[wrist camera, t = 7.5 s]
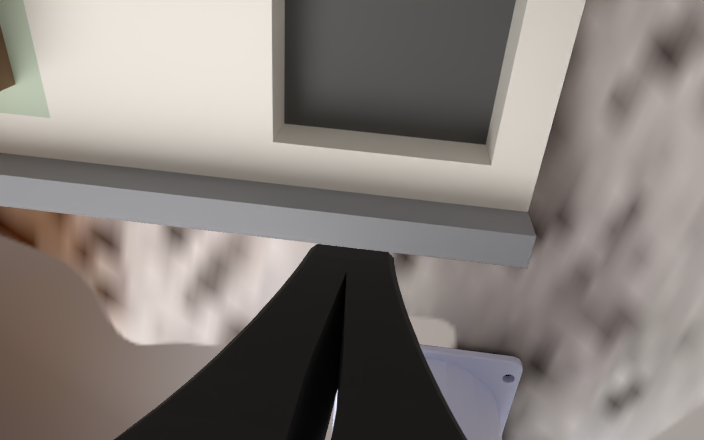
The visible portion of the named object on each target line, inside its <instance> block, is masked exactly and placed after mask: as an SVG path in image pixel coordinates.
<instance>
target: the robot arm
mask: <svg viewBox="0 0 704 440" xmlns="http://www.w3.org/2000/svg"><path fill="white" fill-rule="evenodd" d="M522 372H523V367H522V363H521V361H520V360H519V359H518V358H517V357H513V356H506V355H498V354H490V353H483V352H475V351H467V350H459V349H452V348H444V347H435V346H428V345H420V344H419V342H418V340H417V337H416V335H415V332H414V330H413V327H412V324H411V322H410V319H409V317H408V314H407V311H406V308H405V305H404V302H403V299H402V295H401V292H400V289H399V285H398V281H397V277H396V272H395V266H394V258H393V257H392V256H391V255H390V254H389V252H383V251H374V250H365V249H357V248H348V247H340V246H331V245H322V244H317V245H315V246H314V247H312V248H311V249H310V251H309V252H308V254H307V255H306V256H305V258H304V259H303V261H302V262H301V263H300V265H299V266H298V267H297V269H296V270H295V271H294V273H293V274H292V275H291V276H290V278H289V279H288V280H287V281H286V282H285V284H284V285H283V286H282V287H281V288H280V290H279V291H278V292H277V293H276V294H275V295H274V297H273V298H272V299H271V300H270V301H269V302H268V303H267V304H266V305H265V307H264V308H263V309H262V310H261V311H260V312H259V313H258V314H257V316H256V317H255V318H254V319H253V320H252V321H251V322H250V323H249V324H248V325H247V326H246V327H245V328H244V329H243V330H242V331H241V332H240V333H239V334H238V335H237V336H236V337H235V338H234V339H233V340H232V341H231V342H230V343H229V344H228V345H227V346H226V347H225V348H224V349H223V350H222V351H221V352H220V353H219V354H218V355H217V356H216V357H215V358H214V359H213V360H211V361H210V362H209V363H208V364H207V365H206V366H205V367H204V368H203V369H201V370H200V371H199V372H198V373H197V374H196V375H195V376H194V377H193V378H191V379H190V380H189V381H188V382H187V383H186V384H184V385H183V386H182V387H181V388H180V389H178V390H177V391H176V392H175V393H173V394H172V395H171V396H170V397H169V398H167V399H166V400H165V401H164V402H163V403H161V404H160V405H159V406H158V407H156V408H155V409H154V410H152V411H151V412H150V413H148V414H147V415H146V416H145V417H143V418H142V419H141V420H139V421H138V422H137V423H135V424H134V425H133V426H132V427H130V428H129V429H127V430H126V431H125V432H123V433H122V434H121V435H120V436H118V437H117V438H116V439H114V440H325V436H326V432H327V429H328V425H329V421H330V417H331V413H332V409H333V405H334V413H333V428H332V438H331V440H502V433H503V430H504V427H505V424H506V421H507V418H508V415H509V412H510V408H511V405H512V402H513V399H514V396H515V393H516V390H517V387H518V384H519V381H520V378H521V375H522ZM509 374H510V376H505V375H509Z"/></svg>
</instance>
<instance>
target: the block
mask: <svg viewBox="0 0 704 440" xmlns="http://www.w3.org/2000/svg"><path fill="white" fill-rule="evenodd" d="M13 85H15V80H14V76H13V72H12V68H11V64H10V61H9V57H8V53H7V49H6V45H5V41H4V37H3V33H2V29H1V26H0V91H2V90H4V89H7V88H9V87H11V86H13Z"/></svg>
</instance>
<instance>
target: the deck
mask: <svg viewBox="0 0 704 440" xmlns="http://www.w3.org/2000/svg"><path fill="white" fill-rule="evenodd" d="M585 2H586V0H0V26H1V29H2V33H3V37H4V41H5V45H6V49H7V53H8V57H9V61H10V64H11V68H12V72H13V76H14V80H15V85H13V86H11V87H9V88H7V89H4V90H2V91H0V206H6V207H15V208H23V209H32V210H40V211H48V212H57V213H65V214H74V215H82V216H91V217H99V218H107V219H116V220H124V221H133V222H141V223H150V224H158V225H166V226H175V227H183V228H192V229H200V230H208V231H217V232H225V233H234V234H242V235H251V236H259V237H267V238H276V239H284V240H293V241H301V242H310V243H318V244H326V245H335V246H343V247H352V248H360V249H369V250H377V251H385V252H394V253H402V254H411V255H419V256H428V257H436V258H444V259H453V260H461V261H470V262H478V263H486V264H495V265H503V266H512V267H520V268H527V267H528V264H529V260H530V257H531V253H532V250H533V246H534V243H535V239H536V234H535V231H534V228H533V225H532V222H531V219H530V216H529V214H528V210H529V207H530V203H531V199H532V196H533V192H534V188H535V185H536V181H537V177H538V174H539V170H540V166H541V163H542V159H543V155H544V152H545V148H546V144H547V141H548V137H549V133H550V130H551V126H552V123H553V119H554V115H555V112H556V108H557V104H558V101H559V97H560V93H561V90H562V86H563V82H564V79H565V75H566V71H567V68H568V64H569V60H570V57H571V53H572V49H573V46H574V42H575V38H576V35H577V31H578V28H579V24H580V20H581V17H582V13H583V9H584V6H585Z"/></svg>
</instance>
